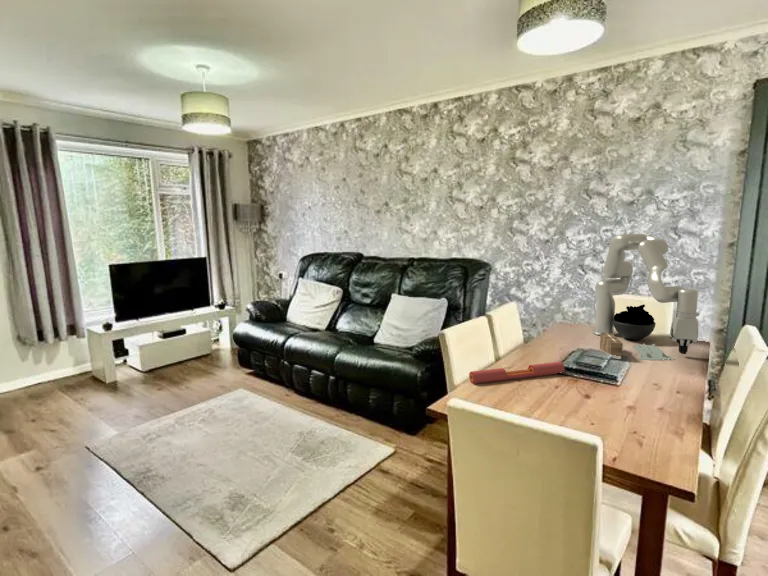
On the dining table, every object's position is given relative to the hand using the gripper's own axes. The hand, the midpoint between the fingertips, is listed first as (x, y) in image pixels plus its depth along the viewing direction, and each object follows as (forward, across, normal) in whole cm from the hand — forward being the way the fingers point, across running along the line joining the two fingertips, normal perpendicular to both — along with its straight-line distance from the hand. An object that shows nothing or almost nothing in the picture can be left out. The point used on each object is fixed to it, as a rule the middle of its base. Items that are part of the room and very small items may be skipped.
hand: (682, 353), depth 197 cm
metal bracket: (+3, +14, +1) cm, 14 cm away
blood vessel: (+2, +78, +41) cm, 88 cm away
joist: (+2, +31, 0) cm, 31 cm away
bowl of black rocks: (+2, +12, -30) cm, 32 cm away
